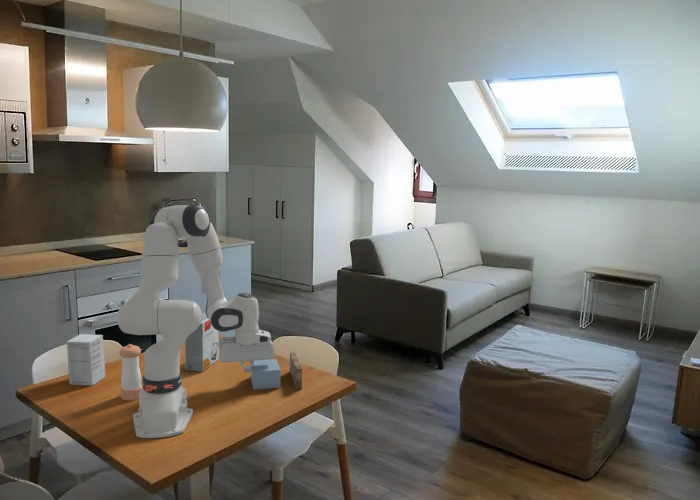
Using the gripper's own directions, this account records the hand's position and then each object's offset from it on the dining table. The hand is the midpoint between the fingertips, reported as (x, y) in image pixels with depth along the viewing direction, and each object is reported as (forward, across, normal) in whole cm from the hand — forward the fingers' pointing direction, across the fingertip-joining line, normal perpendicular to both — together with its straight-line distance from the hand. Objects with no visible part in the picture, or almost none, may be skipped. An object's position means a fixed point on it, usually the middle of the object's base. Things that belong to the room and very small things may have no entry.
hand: (247, 371), depth 213 cm
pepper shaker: (+5, -41, -4) cm, 41 cm away
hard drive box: (+5, -16, +23) cm, 29 cm away
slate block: (+5, +7, 0) cm, 8 cm away
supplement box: (+5, -58, +14) cm, 60 cm away
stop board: (+5, +18, 0) cm, 19 cm away
